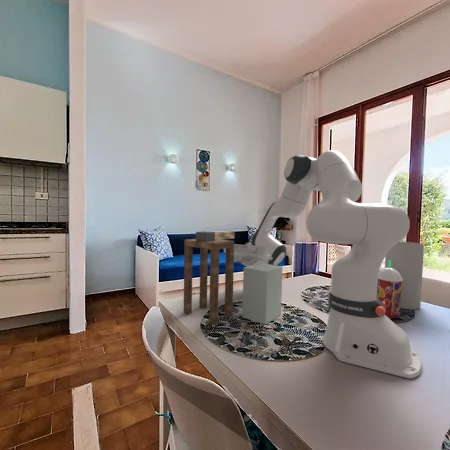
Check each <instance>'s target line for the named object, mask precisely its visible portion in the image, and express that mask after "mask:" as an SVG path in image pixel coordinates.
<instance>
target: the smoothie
mask: <svg viewBox="0 0 450 450" xmlns="http://www.w3.org/2000/svg"><path fill="white" fill-rule="evenodd" d="M402 283H403V279H402V277H401V275H400V273H399V272H398V271H397V270H395V269H393V268H391V260H389V267H387V268H385V267H384V268H380V270H379V275H378V284H377V298H378V299H379V300H380V301H382V302H383V301H385V309H386V312H385V315H386V316H387V317H388V318H389V319H395V318H397V317H398V315H399V314H400V313H399V312H400V308H399V307H400V299H401V291H402Z"/></svg>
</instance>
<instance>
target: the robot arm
mask: <svg viewBox="0 0 450 450" xmlns="http://www.w3.org/2000/svg"><path fill="white" fill-rule="evenodd" d="M283 174H284V178H285V180H286V183H285V184H284V187H283V189H282V192H281V194H280V197H279V198H278V199H277V201H275V202H273V203H272V204H271V205H270V206H269V208H268V209H267V210H266V213H265V215H264V217H263V219H262V220H261V223H260V224H259V226H258V228H257V230H256V231H255V232H254V233H253V235H252V236H251V241H250V242H251V243H250V242H246V243H245V244H237V243H236V244H235V243H234V263H238V264H241V265H244V266H245V267H248V266H251V265H255V264H258V263H263V264H270V265H276V266H280V264H281V263H282V262H283V261H284V260H285V258H286V255H287V247H286V245H285V244H283V243H282V242H281V241H279V239H276V237H274V236H273V235H272V234H271V230H272V229H273V226H274V225H275V223H276V221H277V220H278V218H289V219H290V218H297V217H299V216H300V215H302V213H304V210H305V208H306V206H307V204H308V201H309V198H310V197H311V193H312V192H313V191H318V193H321V198H322V199H321V201H320V202H318V203H317V204H316V205H314V206H312V208H311V209H310V210H309V212H308V214H307V217H306V221H305V224H306V229H307V232H308V235H310V237H311V238H312V239H313V240H314V241H317V242H321V243H326V244H332V245H333V244H335V245H337V244H340V245H352V246H351V249H350V251H349V252H348V253H347V254H346V255H344V256H343V257H341V258H339V259H337V260H336V261H335V262H334V263H333V264H332V267H331V278H330V280H331V282H330V291H329V293H328V298H327V299H328V300H327V301H328V302H327V303H328V304H327V307H328V310H327V311H328V318H327V325H326V329H325V332H324V335H323V337H322V343H323V345H324V347H325V348H326V349H327V350H329V351H330V352H331V353H333V355H334V356H335V357H336V359H337V360H338V361H340V362H343V363H346V364H350V365H354V366H358V367H363V368H367V369H371V370H374V371H379V372H383V373H385V374H390V375H394V376H397V377H402V378H406V379H414V378H416V377H418V376H419V375H420V374H421V372H422V368H423V367H422V359H421V357H420V356H419V354H418V353H417V352H416V351H415V350H414V349H411V348H412V347H411V343H410V340H409V336H407V333H406V332H405V330H403V329H402V328H401V327H400V326H399V325H397V324H396V323H395V322H394V321H392V320H391V318H388V317H387V316H386V315H385V312H386V309H385V301H383V302H382V301H380V300H379V299H378V298H377V284H378V275H379V271H380V270H381V266H382V264H383V262H384V261H385V256H386V255H387V253H388V252H389V250H390V249H391V248H392V247H393V246H394V245H396V244H397V243H398V242H402V241H403V240H404V239H405V238H406V236H407V235H408V233H409V231H410V225H411V223H410V222H411V221H410V218H409V215H408V213H407V212H406V210H404V209H403V208H402V207H400V206H396V205H392V204H386V203H382V202H381V203H380V202H379V203H377V202H376V203H374V202H373V203H372V202H356V201H358V200H359V199H360V197H361V196H362V192H363V185H362V181H361V180H360V179H359V176H358V174H357V172H356V171H355V169H354V167H353V165H352V164H351V162H350V161H349V160H348V159H347V157H346V156H345V155H344V154H343V153H342V152H340V151H338V150H330V149H329V150H327V151H324V152H322V153H321V154H320V155H318V157H317V158H315V157H310V156H307V155H302V154H301V155H300V154H299V155H293V156H292V157H290V158H289V159H288V160H287V162H286V164H285V168H284V172H283ZM223 252H224V253H225V254H226V248H224V249H223Z"/></svg>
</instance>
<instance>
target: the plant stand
mask: <svg viewBox="0 0 450 450" xmlns="http://www.w3.org/2000/svg"><path fill="white" fill-rule="evenodd" d="M183 242H184V247H183V248H184V249H183V251H184V252H183V263H184V264H183V265H184V266H183V269H184V270H183V314H184V315H187V316H189V315H192V314H193V313H192V311H193V310H192V309H193V307H192V306H193V300H192V299H193V253H194V251H193V249H194V248H197V249H198V248H199V249H200V250H199V252H200V254H199V301H198V302H199V304H198V305H199V307H198V308H201V309H206V308H207V307H208V304H209V307H208V308H209V309H208V310H209V311H208V313H209V314H208V315H209V316H208V317H209V318H208V319H209V320H208V323H209V324H210V325H213V326H214V325H217V324H218V323H219V322H218V321H219V286H220V285H219V281H220V279H219V278H220V277H219V276H220V275H219V274H220V273H219V272H220V250H224V248H226V253H225V268H224V269H225V270H224V271H225V273H224V274H225V276H224V316H225V317H227V318H231V317H233V309H234V305H233V304H234V267H235V266H234V264H235V261H234V244H235V241H234V240H229V239H224V240H215V241H211V242H202V241H196V238H191V239H189V238H188V239H184V241H183ZM209 250H210V253H209ZM209 254H210V257H209ZM209 259H210V261H209ZM208 263H209V266H208ZM208 269H209V270H208ZM208 271H209V303H208Z"/></svg>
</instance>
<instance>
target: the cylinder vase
mask: <svg viewBox="0 0 450 450" xmlns="http://www.w3.org/2000/svg"><path fill="white" fill-rule="evenodd" d="M424 248H425V244H424V243H419V242H418V243H417V242H412V241H411V242H410V241H400V242H398V243H397V244H396V245H394V246H393V247H392V248H391V249H390V250H389V252H388V253H387V255H386V256H385V258H384V268H387V267H389V260H391V268H393V269H395V270H397V271H398V272H399V273H400V275H401V277H402V279H403V283H402V291H401V299H400V307H399V309H402V310H409V311H410V310H413V311H414V310H419V309H420V308H421V305H422V304H421V302H422V289H423V288H422V287H423V286H422V285H423V271H424V270H423V269H424V253H425V252H424V251H425V249H424Z"/></svg>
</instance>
